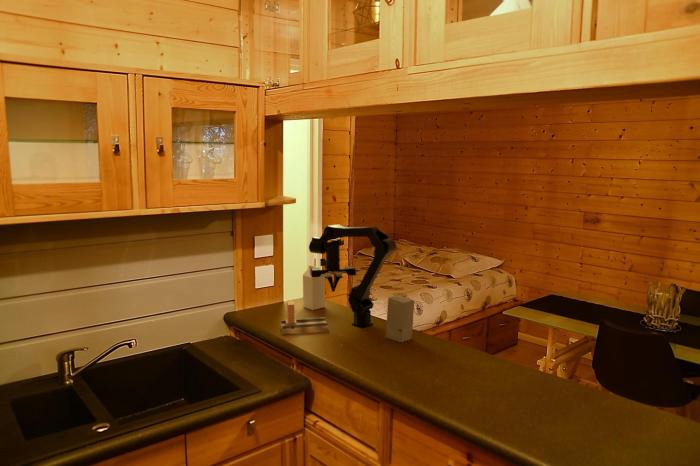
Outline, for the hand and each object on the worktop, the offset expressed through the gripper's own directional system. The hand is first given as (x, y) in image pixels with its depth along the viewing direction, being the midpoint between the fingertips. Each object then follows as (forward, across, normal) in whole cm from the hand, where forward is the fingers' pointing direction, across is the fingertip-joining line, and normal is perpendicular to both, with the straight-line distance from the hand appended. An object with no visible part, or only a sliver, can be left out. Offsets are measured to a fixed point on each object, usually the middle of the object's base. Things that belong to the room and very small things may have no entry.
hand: (333, 291), depth 226 cm
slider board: (+12, +14, +10) cm, 21 cm away
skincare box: (+12, -21, +28) cm, 37 cm away
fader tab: (+10, +19, +10) cm, 23 cm away
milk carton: (+12, +6, -18) cm, 23 cm away
